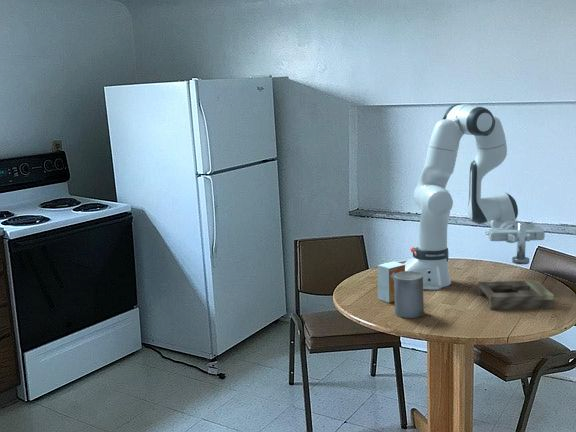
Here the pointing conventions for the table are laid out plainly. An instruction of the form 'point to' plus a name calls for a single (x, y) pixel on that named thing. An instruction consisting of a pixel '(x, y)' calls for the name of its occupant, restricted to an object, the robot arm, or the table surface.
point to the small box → (388, 280)
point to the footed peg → (521, 245)
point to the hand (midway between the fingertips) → (522, 239)
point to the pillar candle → (408, 294)
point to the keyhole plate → (516, 295)
